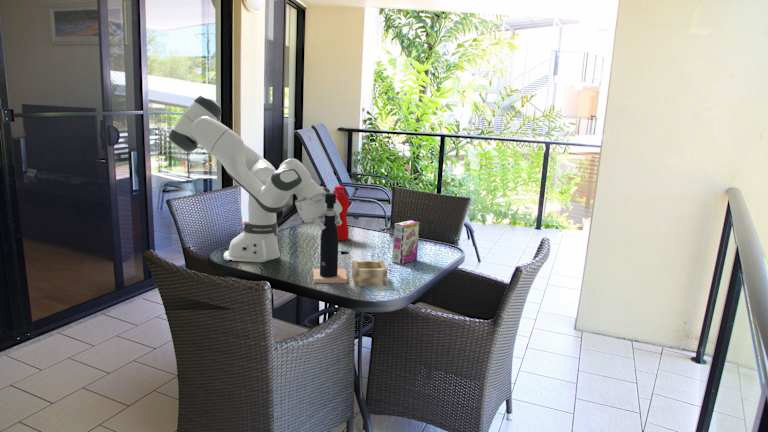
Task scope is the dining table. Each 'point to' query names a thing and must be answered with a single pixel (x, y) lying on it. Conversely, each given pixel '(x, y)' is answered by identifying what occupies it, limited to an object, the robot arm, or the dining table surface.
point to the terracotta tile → (339, 278)
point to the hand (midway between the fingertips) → (332, 226)
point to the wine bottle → (329, 241)
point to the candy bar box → (405, 242)
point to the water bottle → (342, 213)
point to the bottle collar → (369, 273)
